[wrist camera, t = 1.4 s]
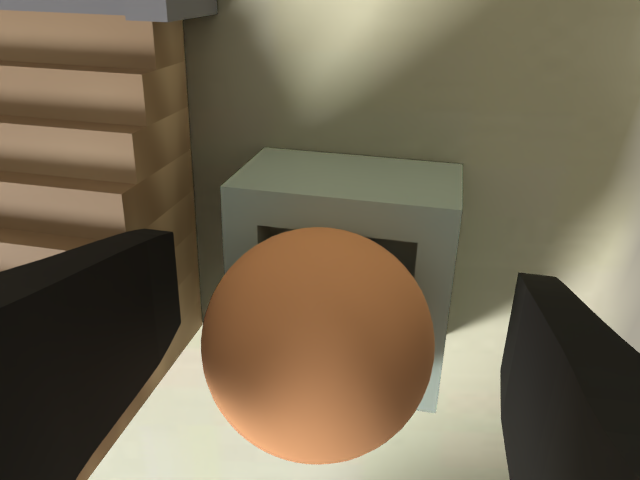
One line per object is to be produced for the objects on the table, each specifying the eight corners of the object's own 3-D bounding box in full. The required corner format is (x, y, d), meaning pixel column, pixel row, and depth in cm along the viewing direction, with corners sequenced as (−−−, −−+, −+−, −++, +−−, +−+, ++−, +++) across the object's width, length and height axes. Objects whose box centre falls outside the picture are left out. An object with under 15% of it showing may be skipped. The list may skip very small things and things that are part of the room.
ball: (428, 382, 13) (414, 543, 9) (247, 355, 13) (170, 493, 10) (449, 205, 11) (443, 317, 7) (243, 186, 12) (147, 278, 8)
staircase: (202, 324, 16) (77, 492, 11) (4, 296, 17) (-195, 436, 12) (182, 12, 13) (-9, 39, 8) (-60, 2, 14) (-370, 18, 9)
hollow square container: (440, 338, 15) (435, 413, 12) (267, 314, 15) (229, 380, 13) (462, 164, 13) (462, 210, 10) (264, 147, 14) (220, 186, 11)
